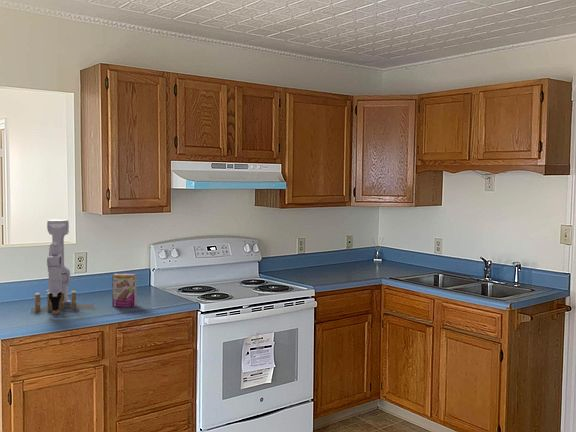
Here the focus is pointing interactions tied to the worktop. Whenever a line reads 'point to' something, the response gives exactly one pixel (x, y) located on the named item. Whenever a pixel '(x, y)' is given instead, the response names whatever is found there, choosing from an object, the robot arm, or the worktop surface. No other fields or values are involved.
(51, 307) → the maple tile
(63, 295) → the maple tile
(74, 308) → the maple tile
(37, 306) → the maple tile
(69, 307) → the domino mat
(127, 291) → the candy bar box
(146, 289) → the worktop surface
